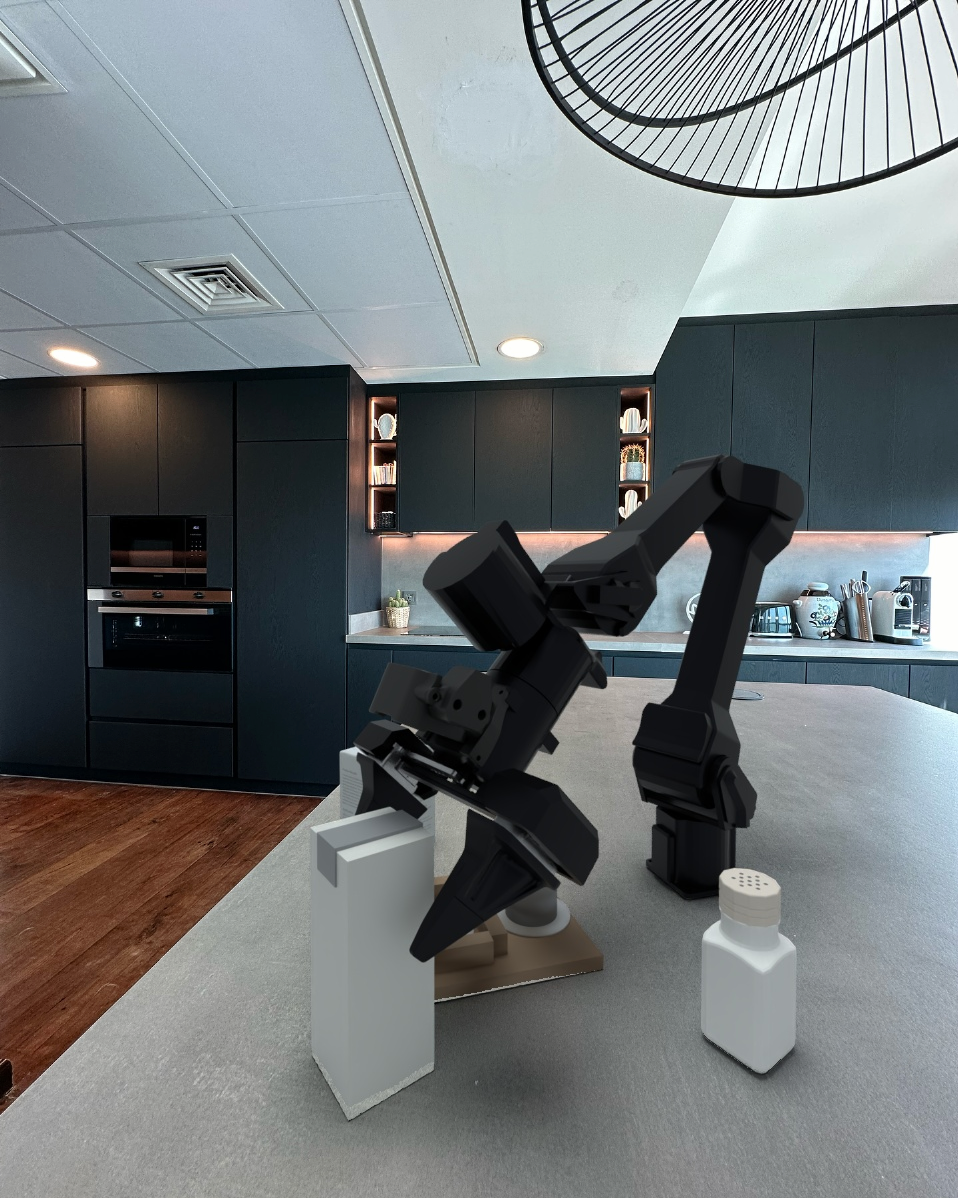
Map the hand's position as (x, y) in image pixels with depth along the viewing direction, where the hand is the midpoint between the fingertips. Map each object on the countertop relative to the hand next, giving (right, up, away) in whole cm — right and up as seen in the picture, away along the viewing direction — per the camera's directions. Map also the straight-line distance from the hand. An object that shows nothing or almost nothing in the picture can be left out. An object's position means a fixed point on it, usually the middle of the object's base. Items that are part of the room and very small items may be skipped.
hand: (372, 916), depth 32 cm
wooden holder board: (+5, -8, +11) cm, 14 cm away
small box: (-3, -8, +25) cm, 27 cm away
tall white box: (0, -8, 0) cm, 8 cm away
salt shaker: (+22, -8, +1) cm, 23 cm away
